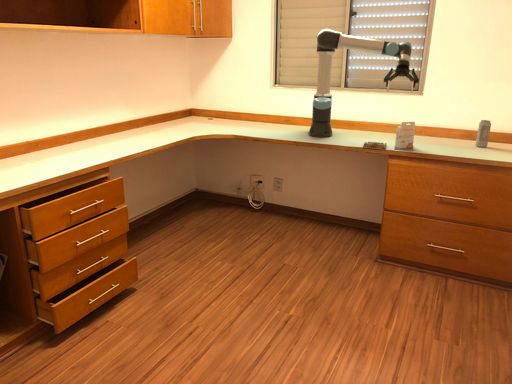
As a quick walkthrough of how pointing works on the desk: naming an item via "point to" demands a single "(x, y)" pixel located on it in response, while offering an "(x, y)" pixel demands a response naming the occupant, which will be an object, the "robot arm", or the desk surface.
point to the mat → (404, 148)
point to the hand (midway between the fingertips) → (399, 90)
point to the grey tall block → (483, 133)
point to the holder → (374, 145)
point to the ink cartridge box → (405, 135)
